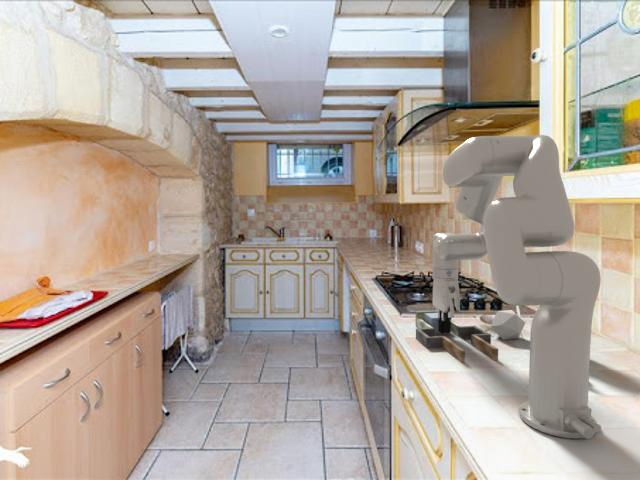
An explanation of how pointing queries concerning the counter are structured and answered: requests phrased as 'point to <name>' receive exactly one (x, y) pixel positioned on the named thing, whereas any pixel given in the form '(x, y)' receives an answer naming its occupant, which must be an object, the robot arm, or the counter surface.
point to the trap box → (467, 333)
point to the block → (432, 320)
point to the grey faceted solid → (507, 324)
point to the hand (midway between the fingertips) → (444, 332)
